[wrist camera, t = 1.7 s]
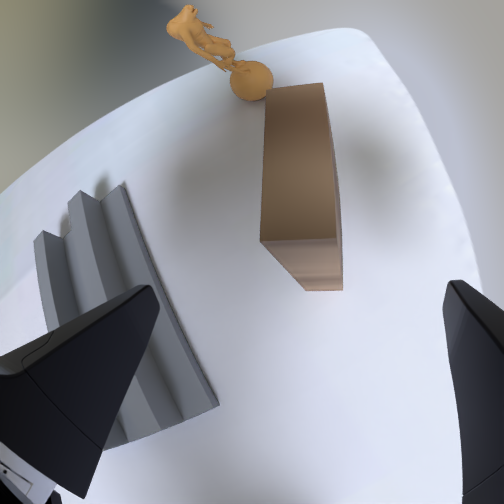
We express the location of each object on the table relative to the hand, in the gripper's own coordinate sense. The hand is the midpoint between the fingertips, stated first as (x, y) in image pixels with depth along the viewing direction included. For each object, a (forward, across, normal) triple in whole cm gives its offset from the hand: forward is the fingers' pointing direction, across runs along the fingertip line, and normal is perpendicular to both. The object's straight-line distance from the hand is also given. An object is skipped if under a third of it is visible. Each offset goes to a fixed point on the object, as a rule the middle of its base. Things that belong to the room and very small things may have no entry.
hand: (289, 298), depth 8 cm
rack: (+8, +19, +9) cm, 22 cm away
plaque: (+12, 0, +5) cm, 13 cm away
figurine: (+23, +6, -6) cm, 24 cm away
